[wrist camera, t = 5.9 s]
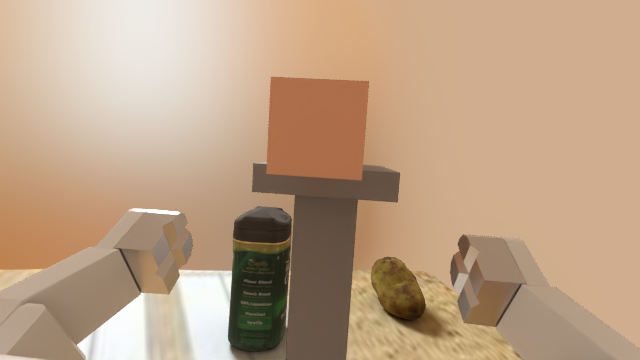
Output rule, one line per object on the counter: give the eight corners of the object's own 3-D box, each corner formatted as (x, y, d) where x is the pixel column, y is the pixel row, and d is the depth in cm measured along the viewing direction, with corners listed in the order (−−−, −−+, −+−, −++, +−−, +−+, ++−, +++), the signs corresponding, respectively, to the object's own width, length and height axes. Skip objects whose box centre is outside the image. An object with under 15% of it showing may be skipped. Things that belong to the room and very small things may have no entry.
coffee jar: (281, 356, 42) (288, 217, 41) (221, 352, 42) (226, 213, 41) (289, 318, 52) (295, 205, 50) (240, 315, 52) (245, 201, 50)
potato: (375, 323, 52) (379, 275, 51) (367, 289, 65) (370, 251, 64) (427, 327, 52) (432, 279, 51) (408, 293, 65) (412, 254, 64)
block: (361, 180, 13) (369, 81, 13) (266, 174, 14) (270, 76, 13) (351, 163, 35) (353, 126, 35) (314, 161, 35) (316, 124, 35)
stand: (370, 523, 24) (400, 172, 22) (238, 504, 24) (253, 163, 22) (361, 399, 36) (380, 165, 33) (273, 389, 36) (285, 159, 34)
